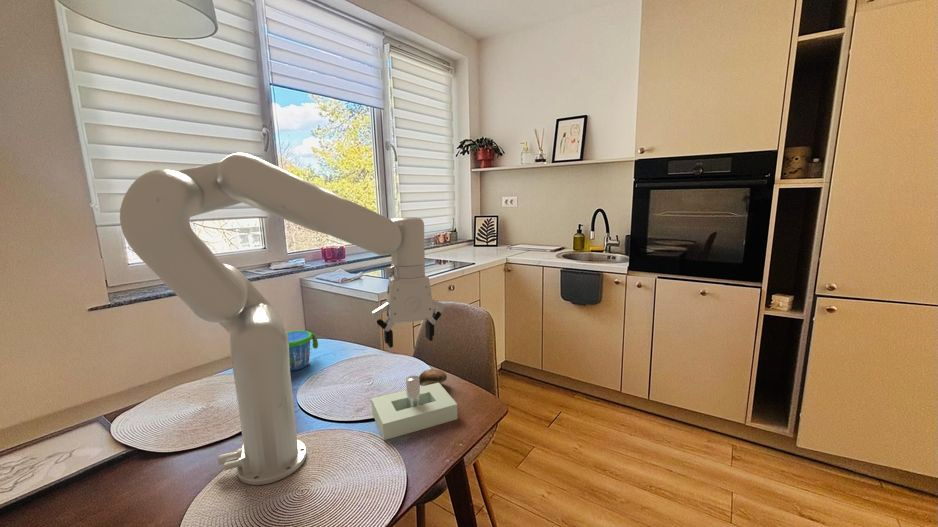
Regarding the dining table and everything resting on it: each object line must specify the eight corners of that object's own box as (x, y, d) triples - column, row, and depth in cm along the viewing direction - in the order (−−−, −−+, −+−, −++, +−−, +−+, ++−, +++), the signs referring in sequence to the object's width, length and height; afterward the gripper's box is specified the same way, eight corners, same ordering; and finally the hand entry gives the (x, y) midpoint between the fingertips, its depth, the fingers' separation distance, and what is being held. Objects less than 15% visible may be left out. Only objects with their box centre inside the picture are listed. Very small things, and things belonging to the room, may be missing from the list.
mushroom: (441, 388, 101) (436, 364, 104) (415, 396, 103) (411, 372, 106) (453, 389, 108) (448, 367, 111) (428, 396, 110) (424, 374, 113)
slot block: (383, 440, 85) (382, 424, 84) (372, 413, 96) (371, 398, 95) (457, 419, 93) (457, 404, 92) (439, 396, 103) (438, 382, 103)
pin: (409, 421, 92) (408, 383, 90) (405, 414, 95) (404, 377, 93) (422, 418, 93) (421, 380, 92) (418, 411, 96) (416, 374, 94)
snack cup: (279, 380, 113) (276, 347, 111) (263, 370, 120) (260, 339, 118) (327, 362, 125) (325, 332, 123) (310, 354, 132) (308, 325, 130)
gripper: (374, 277, 81) (376, 354, 83) (449, 271, 88) (449, 341, 91) (366, 271, 87) (369, 342, 90) (437, 265, 95) (438, 331, 98)
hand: (409, 342), depth 91 cm, fingers open, 9 cm apart
